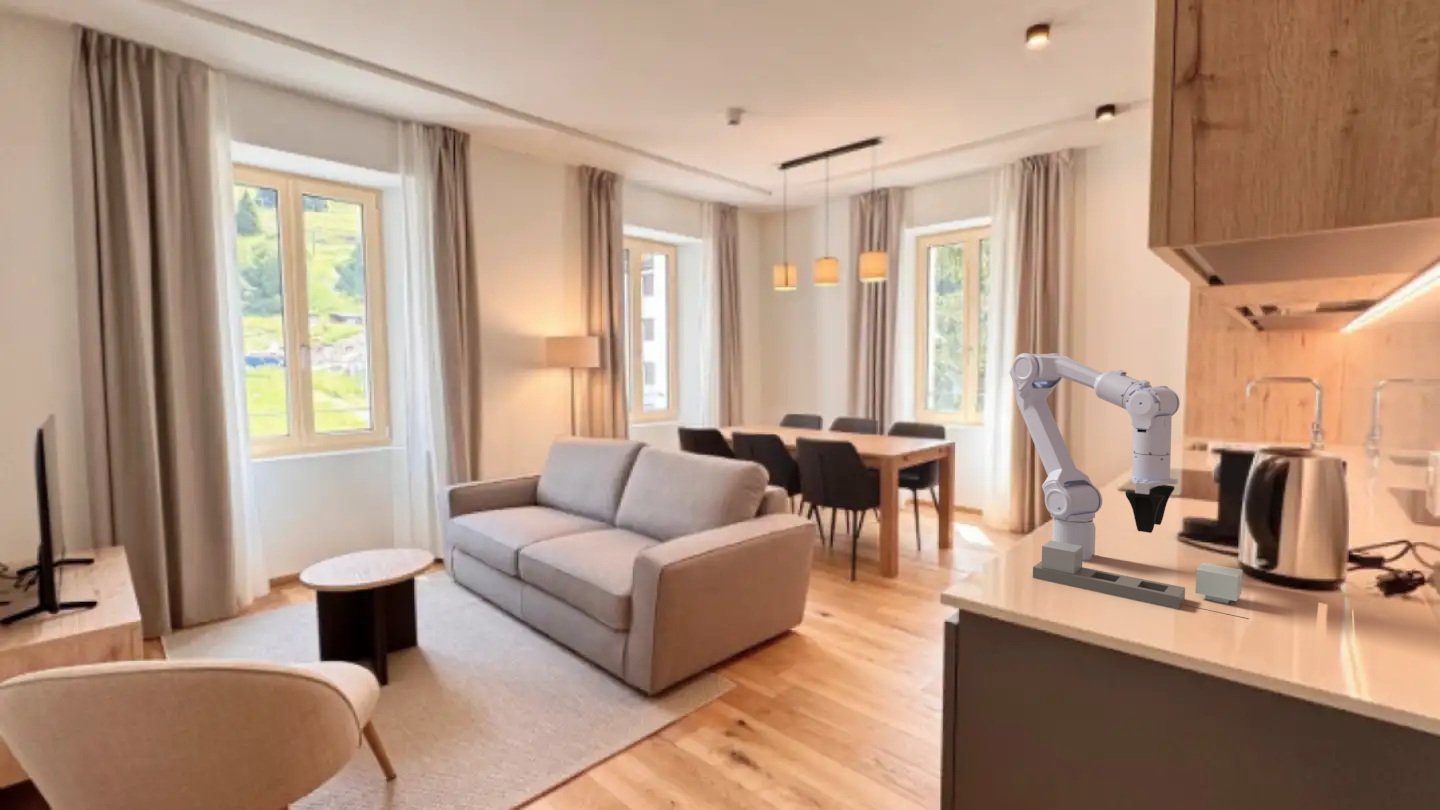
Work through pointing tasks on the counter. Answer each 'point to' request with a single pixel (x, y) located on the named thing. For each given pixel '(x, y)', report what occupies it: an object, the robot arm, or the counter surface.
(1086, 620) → the counter surface
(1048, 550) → the power strip
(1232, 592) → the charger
